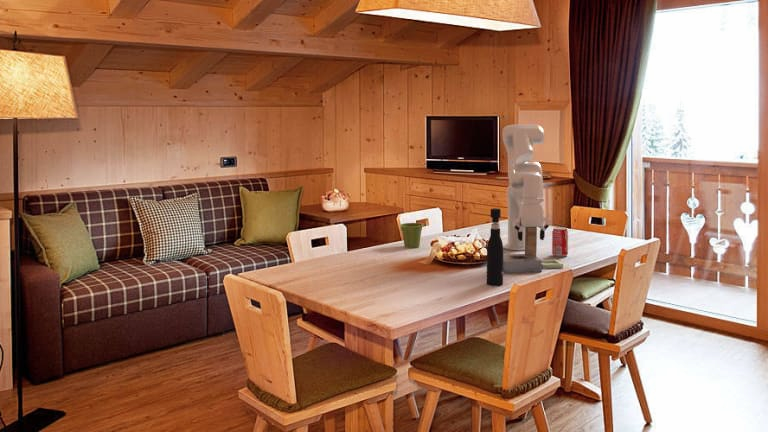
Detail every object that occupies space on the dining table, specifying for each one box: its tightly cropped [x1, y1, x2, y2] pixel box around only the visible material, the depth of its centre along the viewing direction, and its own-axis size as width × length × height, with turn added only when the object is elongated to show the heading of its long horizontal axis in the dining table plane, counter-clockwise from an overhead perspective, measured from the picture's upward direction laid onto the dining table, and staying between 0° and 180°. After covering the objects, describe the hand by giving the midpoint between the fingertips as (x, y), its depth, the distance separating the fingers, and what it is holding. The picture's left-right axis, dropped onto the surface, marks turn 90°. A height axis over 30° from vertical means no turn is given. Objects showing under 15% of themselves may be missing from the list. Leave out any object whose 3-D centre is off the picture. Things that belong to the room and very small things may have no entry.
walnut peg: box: [524, 227, 538, 257], centre depth 334 cm, size 4×4×16 cm
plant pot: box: [399, 222, 424, 249], centre depth 373 cm, size 12×12×11 cm
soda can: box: [551, 226, 569, 258], centre depth 348 cm, size 7×7×13 cm
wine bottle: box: [486, 207, 504, 287], centre depth 296 cm, size 6×6×30 cm
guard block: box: [503, 253, 543, 274], centre depth 323 cm, size 14×16×5 cm
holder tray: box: [541, 259, 564, 270], centre depth 328 cm, size 9×9×2 cm
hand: (531, 240), depth 333 cm, fingers open, 9 cm apart
